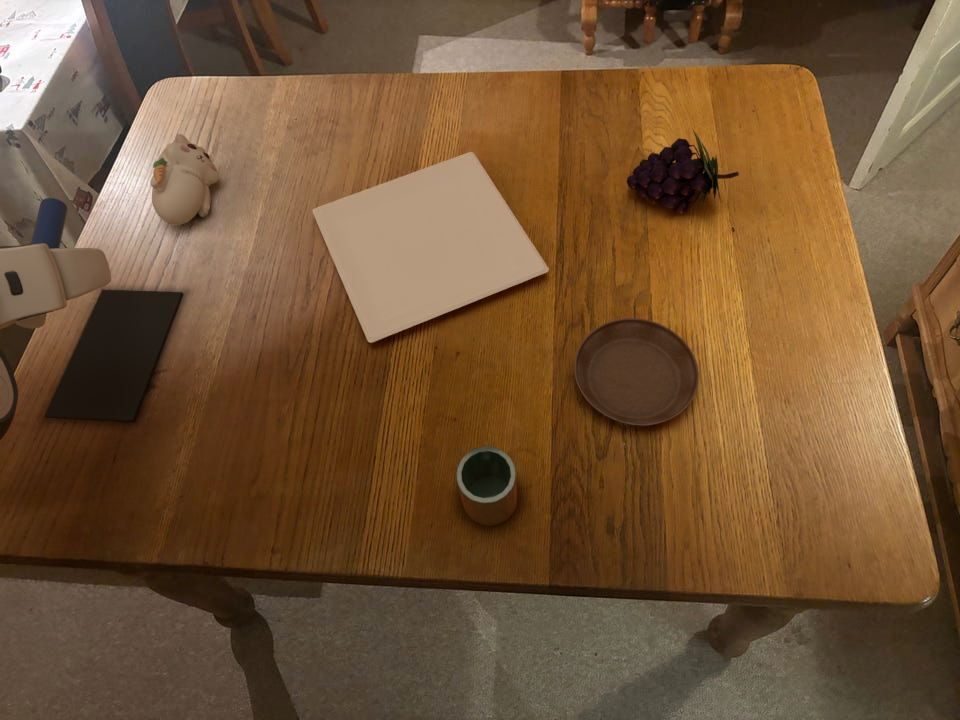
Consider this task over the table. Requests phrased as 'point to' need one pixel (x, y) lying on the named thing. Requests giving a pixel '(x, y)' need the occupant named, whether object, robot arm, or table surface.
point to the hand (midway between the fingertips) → (43, 274)
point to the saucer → (636, 371)
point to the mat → (115, 356)
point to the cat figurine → (182, 182)
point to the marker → (47, 240)
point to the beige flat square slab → (425, 245)
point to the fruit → (677, 175)
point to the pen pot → (487, 485)
